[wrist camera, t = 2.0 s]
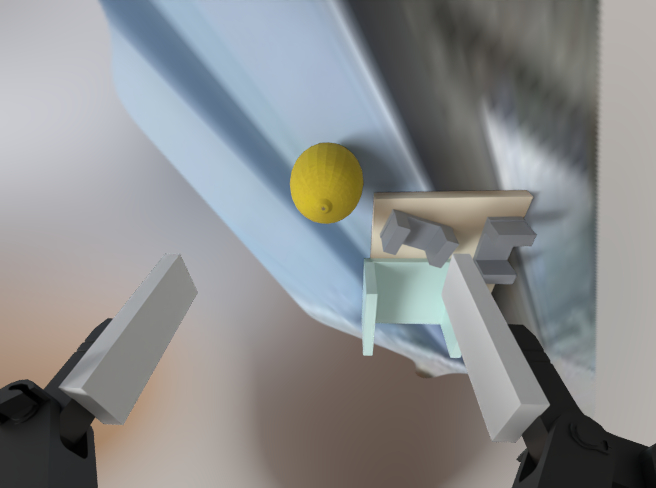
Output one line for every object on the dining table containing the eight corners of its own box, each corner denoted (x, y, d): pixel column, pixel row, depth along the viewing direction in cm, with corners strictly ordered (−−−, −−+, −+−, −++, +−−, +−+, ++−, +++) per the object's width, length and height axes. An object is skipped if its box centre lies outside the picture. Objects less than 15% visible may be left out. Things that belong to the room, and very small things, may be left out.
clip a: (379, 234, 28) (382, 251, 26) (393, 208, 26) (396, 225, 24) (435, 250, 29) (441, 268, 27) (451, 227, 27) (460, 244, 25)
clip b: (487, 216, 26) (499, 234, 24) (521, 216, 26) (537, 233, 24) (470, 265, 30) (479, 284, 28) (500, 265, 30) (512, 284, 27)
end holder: (364, 258, 30) (366, 294, 26) (467, 258, 29) (486, 295, 25) (361, 318, 36) (363, 355, 32) (447, 320, 35) (459, 357, 31)
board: (373, 192, 27) (374, 198, 26) (526, 190, 26) (533, 196, 25) (367, 311, 37) (367, 318, 36) (475, 312, 36) (479, 320, 35)
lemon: (374, 154, 24) (383, 200, 18) (337, 201, 27) (334, 254, 21) (319, 115, 23) (308, 151, 16) (286, 169, 26) (266, 217, 19)
